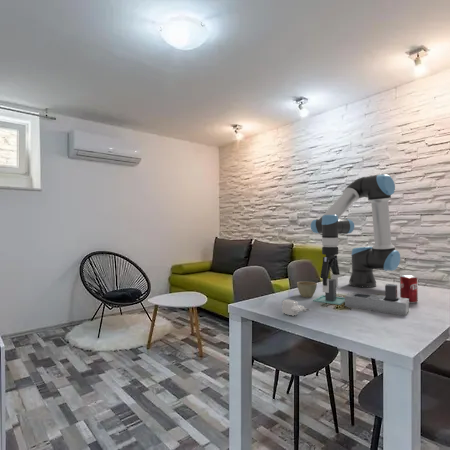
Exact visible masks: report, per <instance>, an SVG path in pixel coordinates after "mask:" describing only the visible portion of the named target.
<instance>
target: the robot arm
mask: <svg viewBox="0 0 450 450" xmlns="http://www.w3.org/2000/svg"><path fill="white" fill-rule="evenodd" d="M395 190H396V185H395V181H394V180H393V178H392V177H391V176H390V175H389V174H377V175H375V174H374V175H369V176H362V177H359V178H357V179H356V180H354V181H352V182H351V183H349V184H348V185H347V186H346V187H345V188H344V189H343V191H342V194H341V195H340V196H339V197H338V198H337V199H336V201H334V202H333V204H332V205H331V206H330V207H329V208H328V209H327V210H326V211H325V212H324V213H323V214H322V215H321V217H320V218H318V219H313V220H312V221H311V223H310V230H311V232H312V233H313V234H319V235H320V234H321V239H320V241H321V245H322V247H321V254H322V255H325V256H323V257H322V266H321V270H320V271H321V272H320V279H321V280H322V293H325V292H326V293H329V279H330V278H329V275H330V271H331V272H332V273H331V279H336V289H338V287H339V280H338V279H339V275H340V274H341V273H340V267H339V263H338V262H339V261H338V254H339V247H338V246H339V235H340V234H341V235H342V234H343V235H347V234H352V233H353V231H354V230H355V223H354V221H353V220H352V219H349V218H341V217H342V215H343V214H344V213H345V212H346V211H347V210H348V209H349V208H350V207H351V205H352V204H353V203H354V202H357V201H358V200H359V199H361V198H367V201H369V203H371V214H372V227H373V228H372V229H373V238H374V241H373V243H374V244H373V245H372V246H363V247H354V248H352V250H351V274H350V277H349V279H348V280H349V281H348V285H349V286H352V287H355V288H356V287H358V288H375V287H377V281H376V278H375V275H374V270H377V271H384V272H394V271H395V270H397V269H398V267H399V265H400V262H401V254H400V251H398V250H396V246H395V245H394V244H392V234H391V219H390V207H389V201H390V200H391V199H392V196H393V194H394V193H395Z"/></svg>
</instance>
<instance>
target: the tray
mask: <svg viewBox="0 0 450 450" xmlns="http://www.w3.org/2000/svg"><path fill="white" fill-rule="evenodd" d="M312 301H313V302H314V303H315V302H317V303H322V304H323V303H325V304H331V305H339V306H341V305H342V304H345V297H341V296H336V300H335V301H326V300H325V294H322V295H320V296H318V297H316V298H314V299H312Z"/></svg>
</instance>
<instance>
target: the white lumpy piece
mask: <svg viewBox="0 0 450 450" xmlns="http://www.w3.org/2000/svg"><path fill="white" fill-rule="evenodd" d="M281 306H282V307H281V309H282V311H281V312H282V314H283V313H285V314H289V315H292V316H291V317H295V316H298V315H297V314H299V313H300V312H307V311H310V308H307V307H305V306H304V305H301V304H299V302H298V301H297V300H293V299H285V300H282V303H281ZM285 314H284V315H285ZM289 315H288V316H289ZM294 315H295V316H294Z"/></svg>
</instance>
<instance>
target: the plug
mask: <svg viewBox="0 0 450 450" xmlns="http://www.w3.org/2000/svg"><path fill="white" fill-rule="evenodd" d="M328 279H329V293H326V292H324V293H325V294H324V295H325V300H326V301H335V300H336V297H337V288H336V279H332V278H328Z"/></svg>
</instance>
